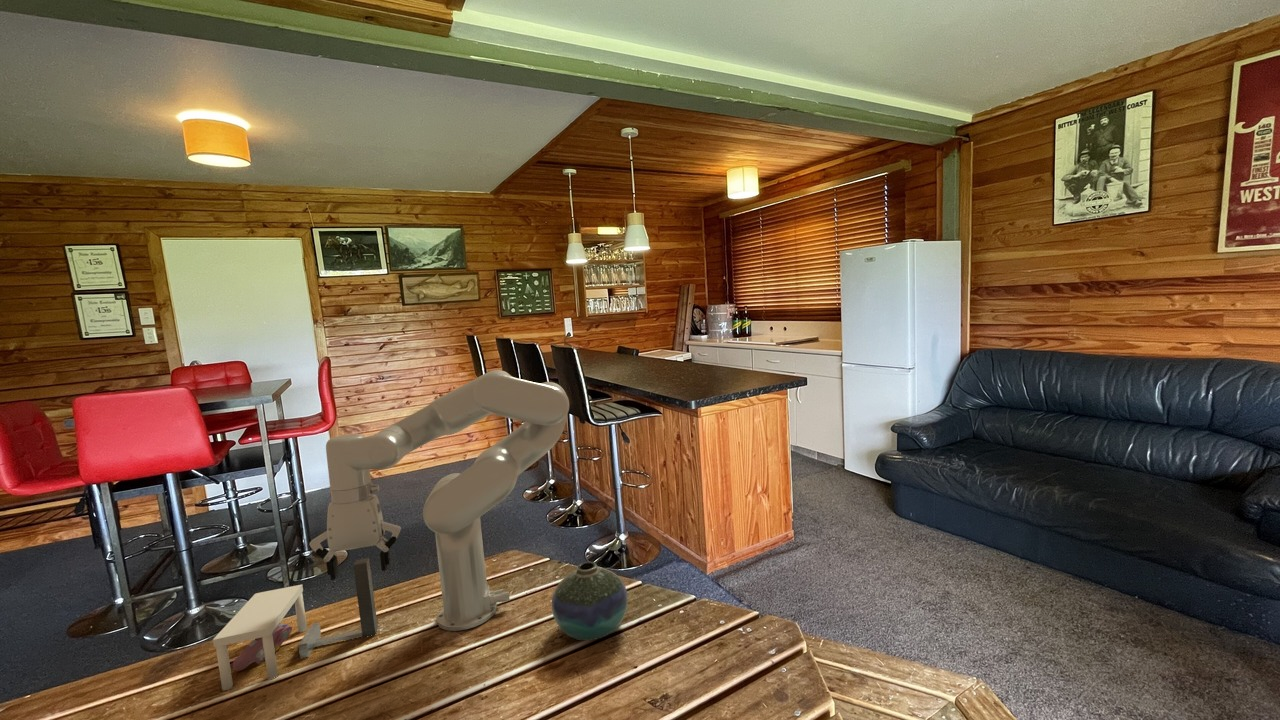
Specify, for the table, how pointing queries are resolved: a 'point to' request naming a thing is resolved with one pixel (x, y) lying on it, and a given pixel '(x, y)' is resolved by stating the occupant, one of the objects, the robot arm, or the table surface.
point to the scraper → (365, 611)
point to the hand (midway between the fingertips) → (360, 572)
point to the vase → (589, 602)
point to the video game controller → (261, 647)
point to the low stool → (259, 627)
